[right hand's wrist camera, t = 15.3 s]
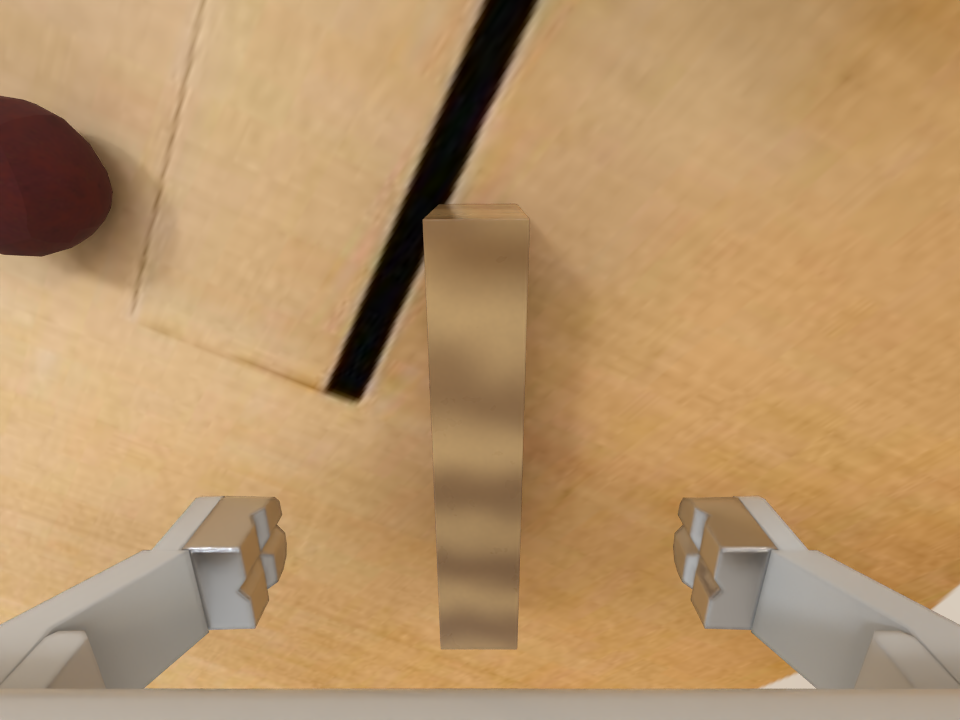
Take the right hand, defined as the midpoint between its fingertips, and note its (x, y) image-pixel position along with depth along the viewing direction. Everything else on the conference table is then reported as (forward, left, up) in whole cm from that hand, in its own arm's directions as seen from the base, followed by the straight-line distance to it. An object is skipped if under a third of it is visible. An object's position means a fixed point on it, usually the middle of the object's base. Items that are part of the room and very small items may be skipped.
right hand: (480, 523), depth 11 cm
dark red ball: (+23, -7, -23) cm, 33 cm away
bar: (0, +8, -23) cm, 24 cm away
